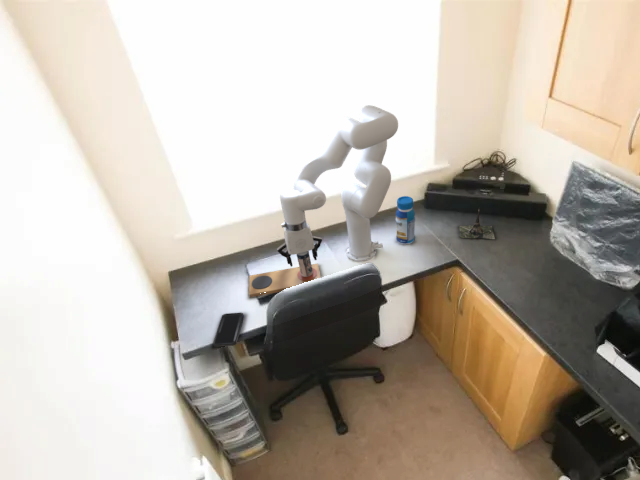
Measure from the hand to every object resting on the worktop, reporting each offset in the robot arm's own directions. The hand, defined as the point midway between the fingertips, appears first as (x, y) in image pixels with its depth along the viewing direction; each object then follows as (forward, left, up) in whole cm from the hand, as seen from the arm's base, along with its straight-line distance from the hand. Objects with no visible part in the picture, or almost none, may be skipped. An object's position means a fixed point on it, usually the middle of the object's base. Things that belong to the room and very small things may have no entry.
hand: (302, 261), depth 161 cm
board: (+8, 0, -8) cm, 12 cm away
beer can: (-1, 0, -7) cm, 7 cm away
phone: (+29, +22, -8) cm, 38 cm away
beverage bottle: (-46, -14, -9) cm, 49 cm away
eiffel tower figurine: (-78, -10, -9) cm, 79 cm away
